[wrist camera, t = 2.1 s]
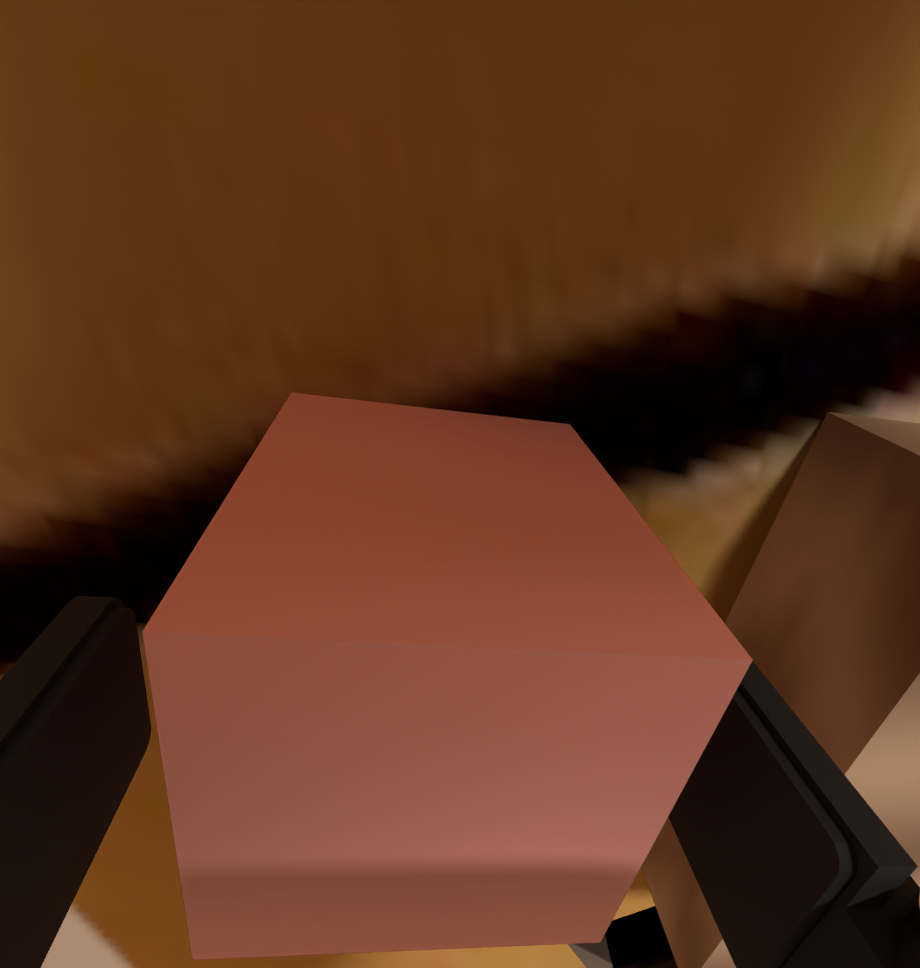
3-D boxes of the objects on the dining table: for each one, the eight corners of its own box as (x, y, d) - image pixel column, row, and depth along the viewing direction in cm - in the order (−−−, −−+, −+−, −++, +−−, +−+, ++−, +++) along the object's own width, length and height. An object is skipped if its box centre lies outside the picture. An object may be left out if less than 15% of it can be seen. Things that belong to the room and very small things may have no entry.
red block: (292, 391, 11) (142, 631, 5) (569, 423, 12) (752, 659, 6) (289, 616, 13) (192, 959, 7) (516, 628, 14) (600, 942, 8)
